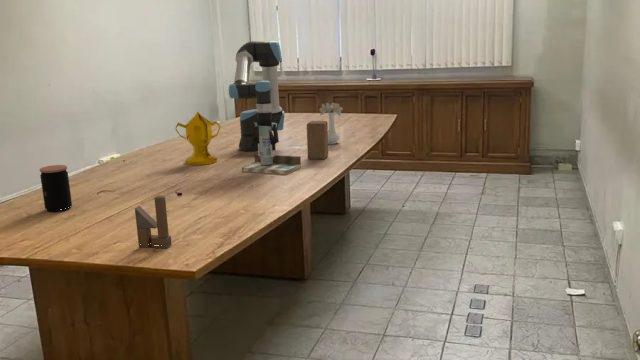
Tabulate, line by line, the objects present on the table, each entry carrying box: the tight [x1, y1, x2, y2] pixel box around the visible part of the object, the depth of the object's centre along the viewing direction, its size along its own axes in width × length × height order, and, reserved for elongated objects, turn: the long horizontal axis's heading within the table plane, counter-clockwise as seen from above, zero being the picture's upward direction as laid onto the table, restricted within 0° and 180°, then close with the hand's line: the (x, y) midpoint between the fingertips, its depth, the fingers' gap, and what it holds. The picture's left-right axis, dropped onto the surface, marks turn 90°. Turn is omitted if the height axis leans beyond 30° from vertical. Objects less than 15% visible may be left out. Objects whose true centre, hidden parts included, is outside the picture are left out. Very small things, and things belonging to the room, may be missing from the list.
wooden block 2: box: [134, 195, 172, 249], centre depth 219 cm, size 4×11×18 cm, turn 80°
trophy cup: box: [175, 111, 222, 166], centre depth 350 cm, size 18×24×28 cm
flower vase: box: [318, 102, 344, 145], centre depth 393 cm, size 13×18×25 cm
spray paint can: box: [259, 126, 273, 165], centre depth 329 cm, size 6×6×20 cm
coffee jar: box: [39, 164, 73, 213], centre depth 269 cm, size 11×11×18 cm
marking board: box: [241, 153, 302, 175], centre depth 330 cm, size 26×16×6 cm, turn 67°
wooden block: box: [306, 120, 329, 160], centre depth 353 cm, size 10×10×20 cm
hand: (266, 155), depth 330 cm, fingers closed on spray paint can, 6 cm apart
